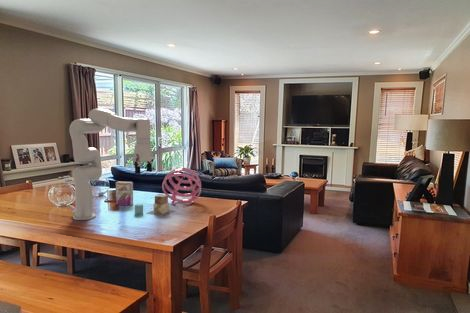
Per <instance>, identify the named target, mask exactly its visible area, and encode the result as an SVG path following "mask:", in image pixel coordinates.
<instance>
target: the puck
mask: <svg viewBox="0 0 470 313" xmlns="http://www.w3.org/2000/svg"><path fill="white" fill-rule="evenodd" d="M134 215H135V216H142V215H144V205H143V204H139V203H138V204H134Z"/></svg>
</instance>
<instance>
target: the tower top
mask: <svg viewBox="0 0 470 313" xmlns="http://www.w3.org/2000/svg"><path fill="white" fill-rule="evenodd" d="M168 198H169V197H168V195H166V194H161V193H160V194H157V195H154V203H155V204H162V205H163V204H165V203H168V202H169V199H168Z"/></svg>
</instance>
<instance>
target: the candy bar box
mask: <svg viewBox="0 0 470 313" xmlns="http://www.w3.org/2000/svg"><path fill="white" fill-rule="evenodd" d="M133 204H134V182H133V181H120V180H119V181H115V205H117V206H133Z"/></svg>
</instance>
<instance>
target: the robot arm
mask: <svg viewBox="0 0 470 313" xmlns="http://www.w3.org/2000/svg"><path fill="white" fill-rule="evenodd" d="M107 127H108V128H110V129H111V130H114V131H118V132H123V133H124V132H125V133H126V132H127V133H133V132H134V133H135V140H136V141H135V143H134V144H135V145H134V150H133V157H132V158H131V161H132V164H133V166H134V174H135V175H136V174H138V175H140V174H141V164H142V163H146V172H153V163H154V160H155V155H154V154H153V153H152V152H153V151H152V144H151V120H150V119H149V118H135V117H123V116H122V117H121V116H118V114H117V113H116V112H113V111H111V110H109V109H107V108H93V109H91V110H89V112H88V118H78V119H74V120H73V121H71V123H70V125H69V135H70V138H71V143H72V144H71V145H72V156H73V160H74V163H76V164H78V165H80V166H77V167H76V168H74V169H73V171H72V179H73V184H74V199H75V204H74V205H75V209H73V210H72V214H74V215H73V216H72V219H73V220H74V221H87V220H91V219H94V218H95V217H96V213H94V212H93V210H94V209H93V208H94V206H93V205H94V204H93V203H94V202H93V200H94V198H93V187H92V185H91V183H90V182H91V181H96V180H100V178H101V177H102V175H103V167H102V165H103V164H102V158H101V157H102V156H101V152H100V151H99V150H98V149H97V148H95V147H89V142H88V139H87V136H85V134H98V133H100V132H102V131H103V130H104V129H105V128H107ZM84 164H88V165H84Z"/></svg>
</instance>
